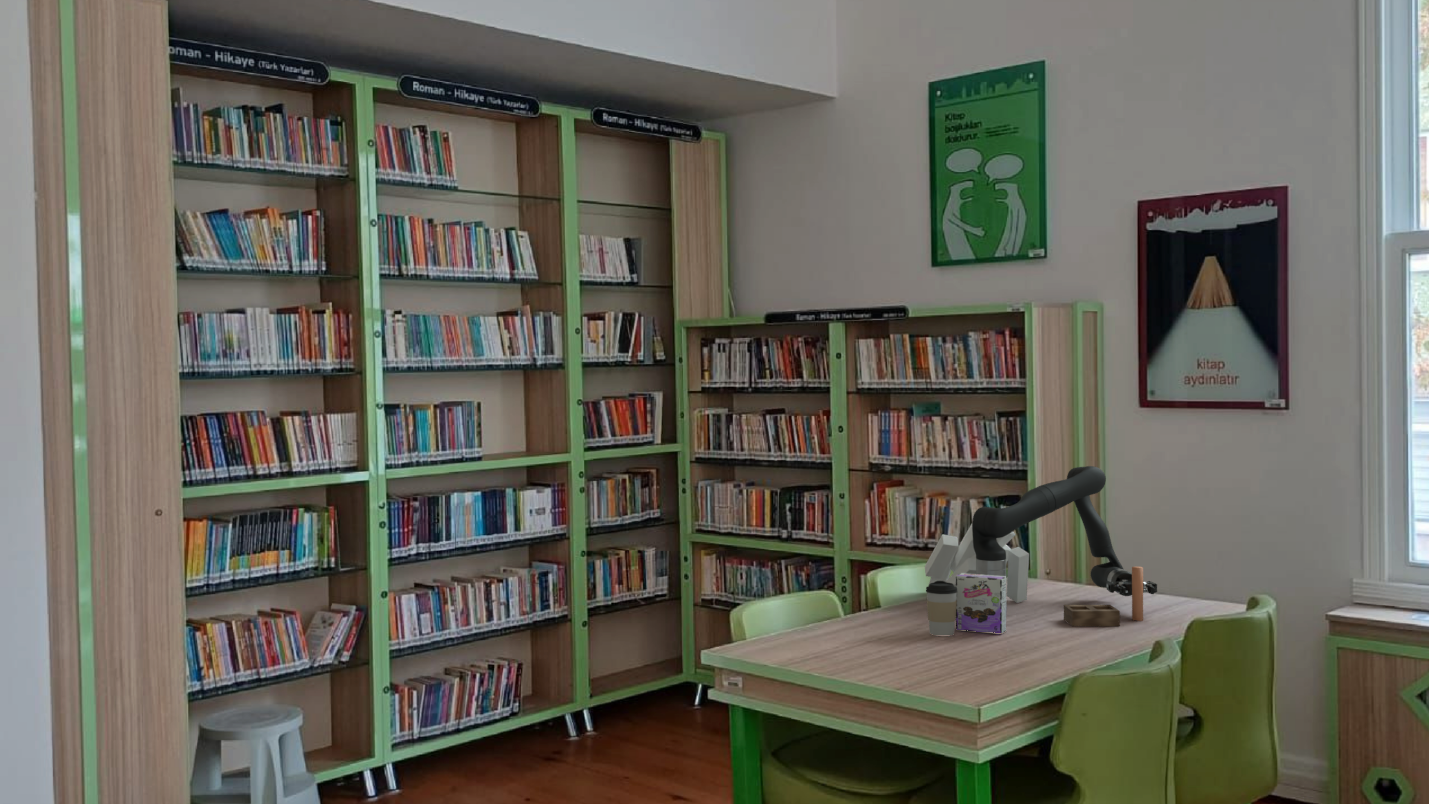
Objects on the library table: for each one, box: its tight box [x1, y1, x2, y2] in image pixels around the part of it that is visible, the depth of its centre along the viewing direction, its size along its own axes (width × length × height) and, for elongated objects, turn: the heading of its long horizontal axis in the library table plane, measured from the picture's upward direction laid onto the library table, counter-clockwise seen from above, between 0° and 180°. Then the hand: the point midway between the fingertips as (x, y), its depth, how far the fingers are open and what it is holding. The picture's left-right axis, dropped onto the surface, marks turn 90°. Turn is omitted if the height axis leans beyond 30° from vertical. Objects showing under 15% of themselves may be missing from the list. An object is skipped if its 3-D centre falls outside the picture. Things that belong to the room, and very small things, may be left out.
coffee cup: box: [925, 581, 958, 636], centre depth 363 cm, size 9×9×15 cm
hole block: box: [1063, 604, 1121, 627], centre depth 376 cm, size 14×10×4 cm
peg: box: [1131, 566, 1144, 622], centre depth 380 cm, size 3×3×16 cm
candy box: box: [955, 573, 1007, 634], centre depth 366 cm, size 14×6×16 cm, turn 62°
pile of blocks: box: [924, 523, 1030, 604], centre depth 412 cm, size 35×30×35 cm
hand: (1138, 591), depth 379 cm, fingers open, 8 cm apart
